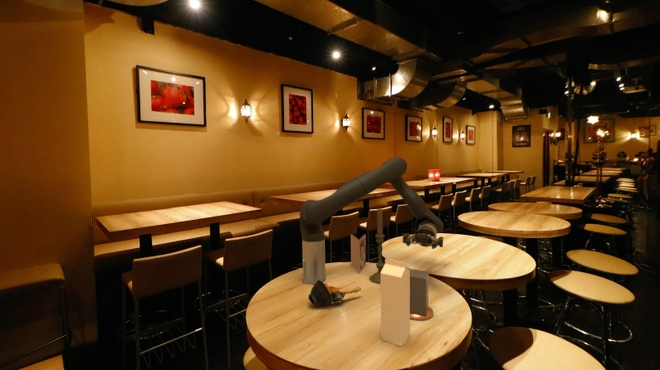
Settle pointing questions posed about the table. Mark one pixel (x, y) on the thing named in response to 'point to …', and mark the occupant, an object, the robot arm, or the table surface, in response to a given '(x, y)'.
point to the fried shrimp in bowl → (328, 294)
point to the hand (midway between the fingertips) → (420, 244)
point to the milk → (395, 302)
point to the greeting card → (358, 253)
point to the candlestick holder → (379, 248)
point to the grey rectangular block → (419, 292)
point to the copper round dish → (422, 318)
